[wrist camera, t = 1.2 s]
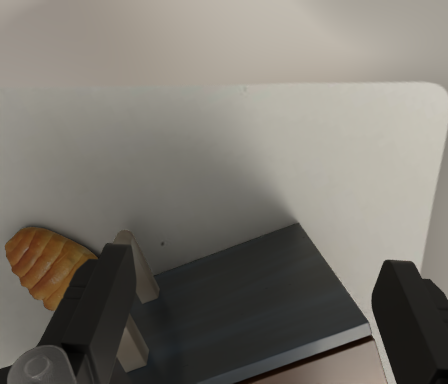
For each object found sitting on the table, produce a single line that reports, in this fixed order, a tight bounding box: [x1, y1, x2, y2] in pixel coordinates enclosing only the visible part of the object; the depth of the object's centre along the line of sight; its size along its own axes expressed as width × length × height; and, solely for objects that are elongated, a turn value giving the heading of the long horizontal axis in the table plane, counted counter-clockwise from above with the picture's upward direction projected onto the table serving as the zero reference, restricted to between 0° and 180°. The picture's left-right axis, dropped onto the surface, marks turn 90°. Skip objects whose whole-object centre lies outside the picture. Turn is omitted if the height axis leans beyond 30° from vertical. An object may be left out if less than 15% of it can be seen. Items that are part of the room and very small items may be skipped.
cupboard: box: [233, 335, 388, 384], centre depth 33 cm, size 13×18×17 cm
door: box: [109, 223, 372, 384], centre depth 30 cm, size 8×18×16 cm, turn 110°
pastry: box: [5, 227, 98, 311], centre depth 36 cm, size 9×7×4 cm
